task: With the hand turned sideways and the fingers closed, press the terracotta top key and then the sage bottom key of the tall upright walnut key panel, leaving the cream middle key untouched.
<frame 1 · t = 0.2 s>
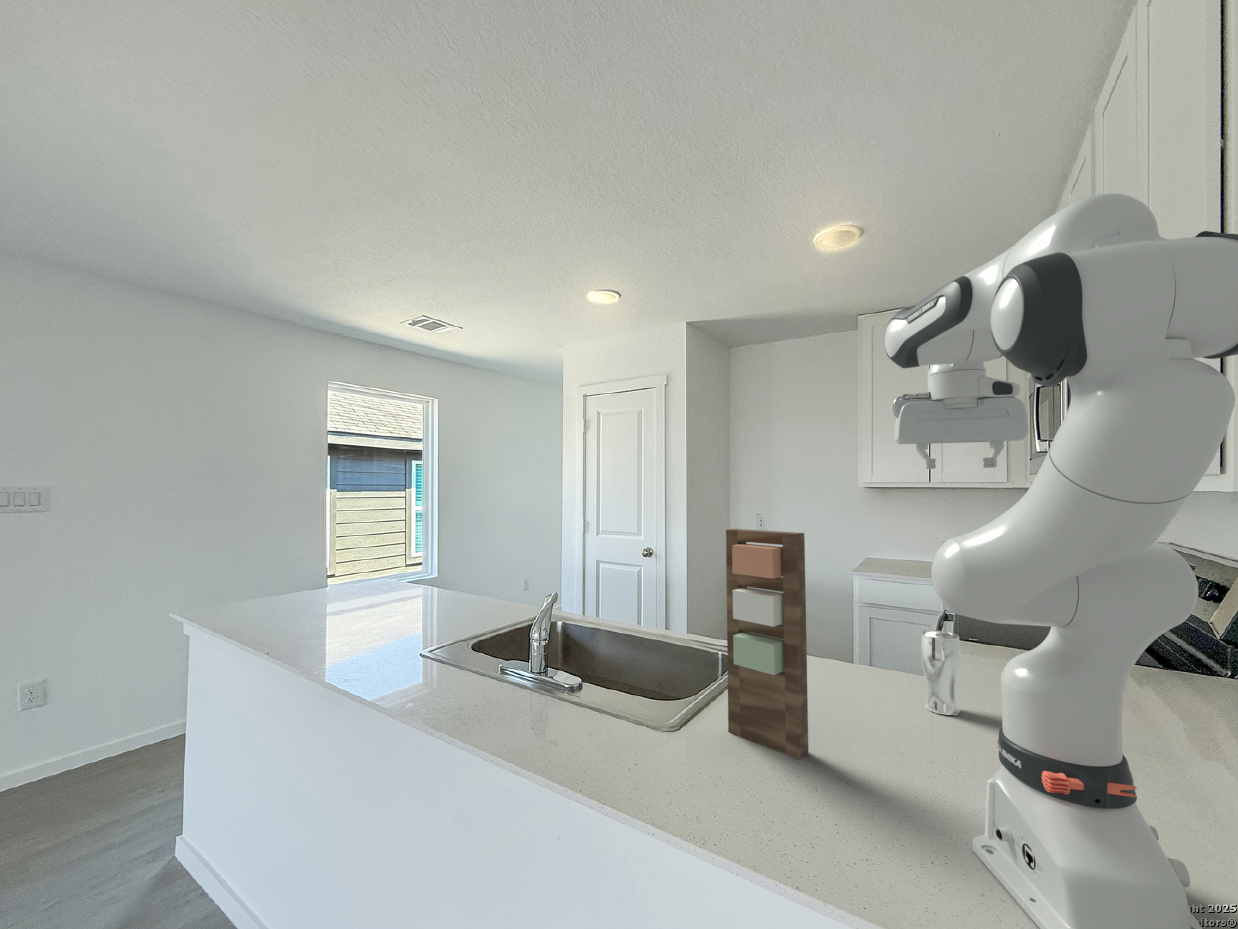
hand: (959, 468, 94), 48 cm above the worktop, tool pointing down, fingers open, 8 cm apart
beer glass: (942, 711, 107), on the worktop
cream key: (758, 606, 93), point 24 cm above the worktop, slide at 0.0 cm
sage key: (759, 652, 93), point 16 cm above the worktop, slide at 0.0 cm
terracotta key: (758, 560, 94), point 32 cm above the worktop, slide at 0.0 cm
key panel: (766, 742, 94), on the worktop
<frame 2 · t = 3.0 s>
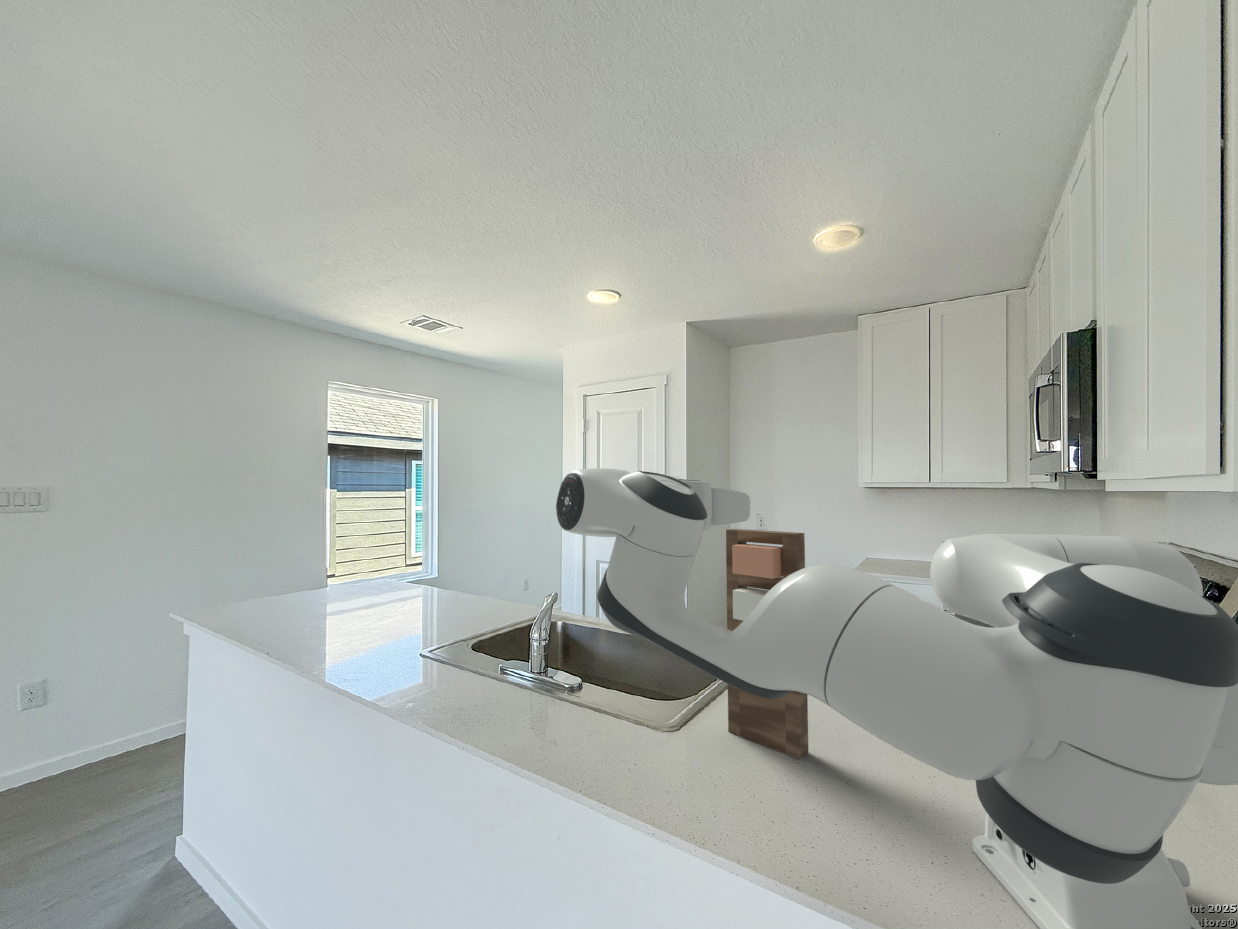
hand: (713, 507, 84), 42 cm above the worktop, tool horizontal, fingers open, 8 cm apart
nothing on the worktop moved.
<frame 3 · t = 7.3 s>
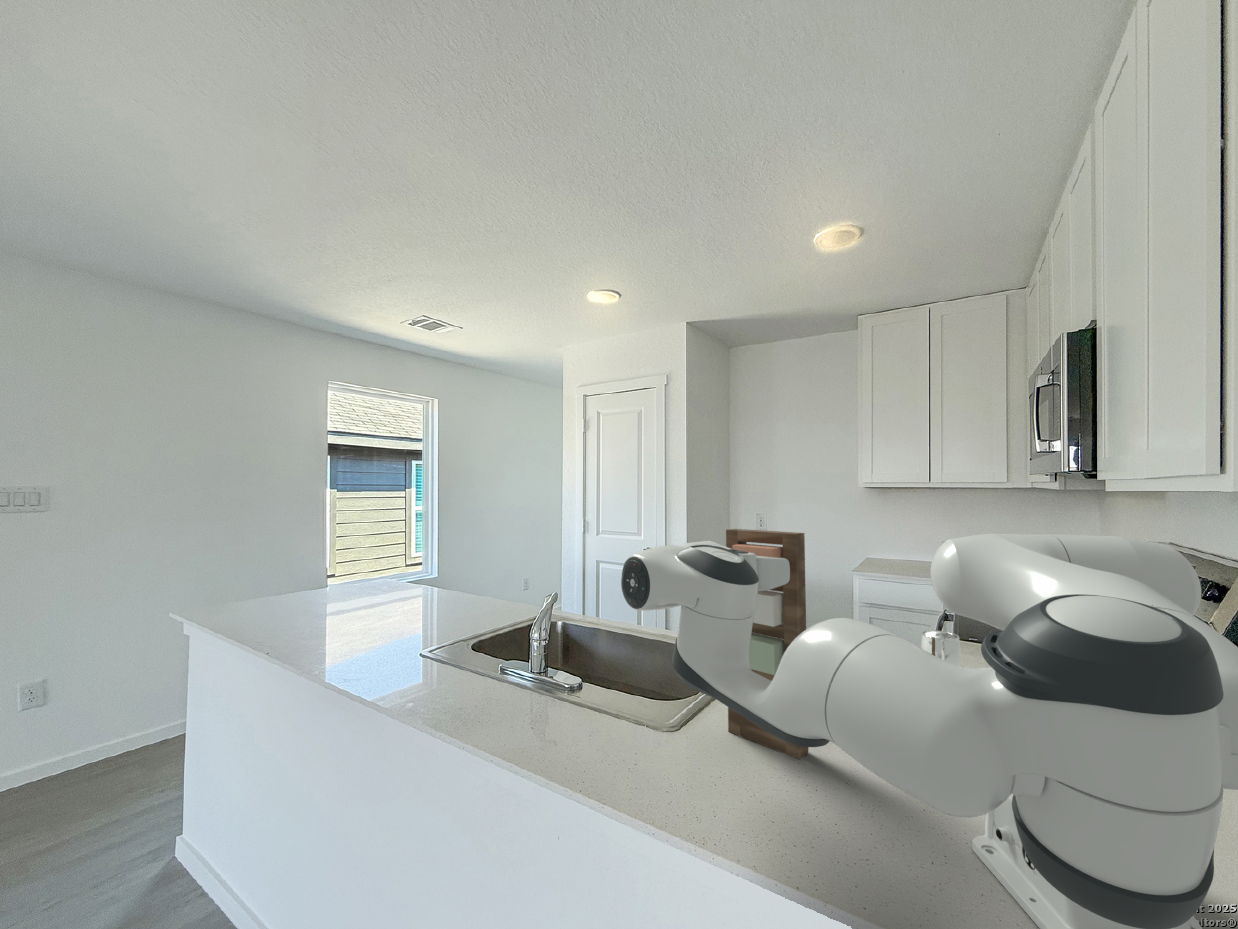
hand: (751, 561, 92), 32 cm above the worktop, tool horizontal, fingers closed, pressing on terracotta key
terracotta key: (758, 560, 94), point 32 cm above the worktop, slide at 0.0 cm, touching gripper
everything else where it was.
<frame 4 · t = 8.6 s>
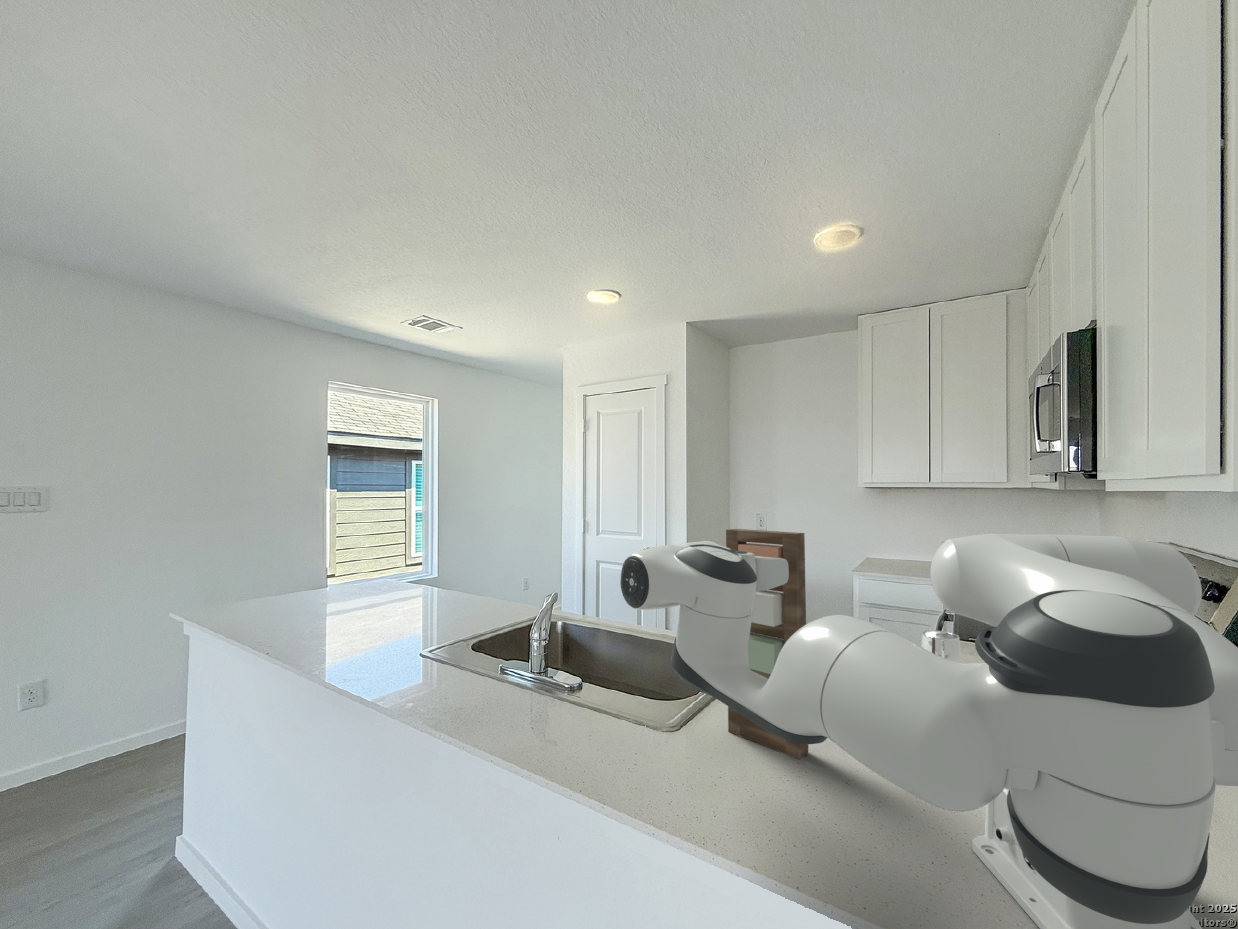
hand: (750, 561, 93), 32 cm above the worktop, tool horizontal, fingers closed
terracotta key: (763, 559, 95), point 32 cm above the worktop, slide at 1.9 cm
everything else where it was.
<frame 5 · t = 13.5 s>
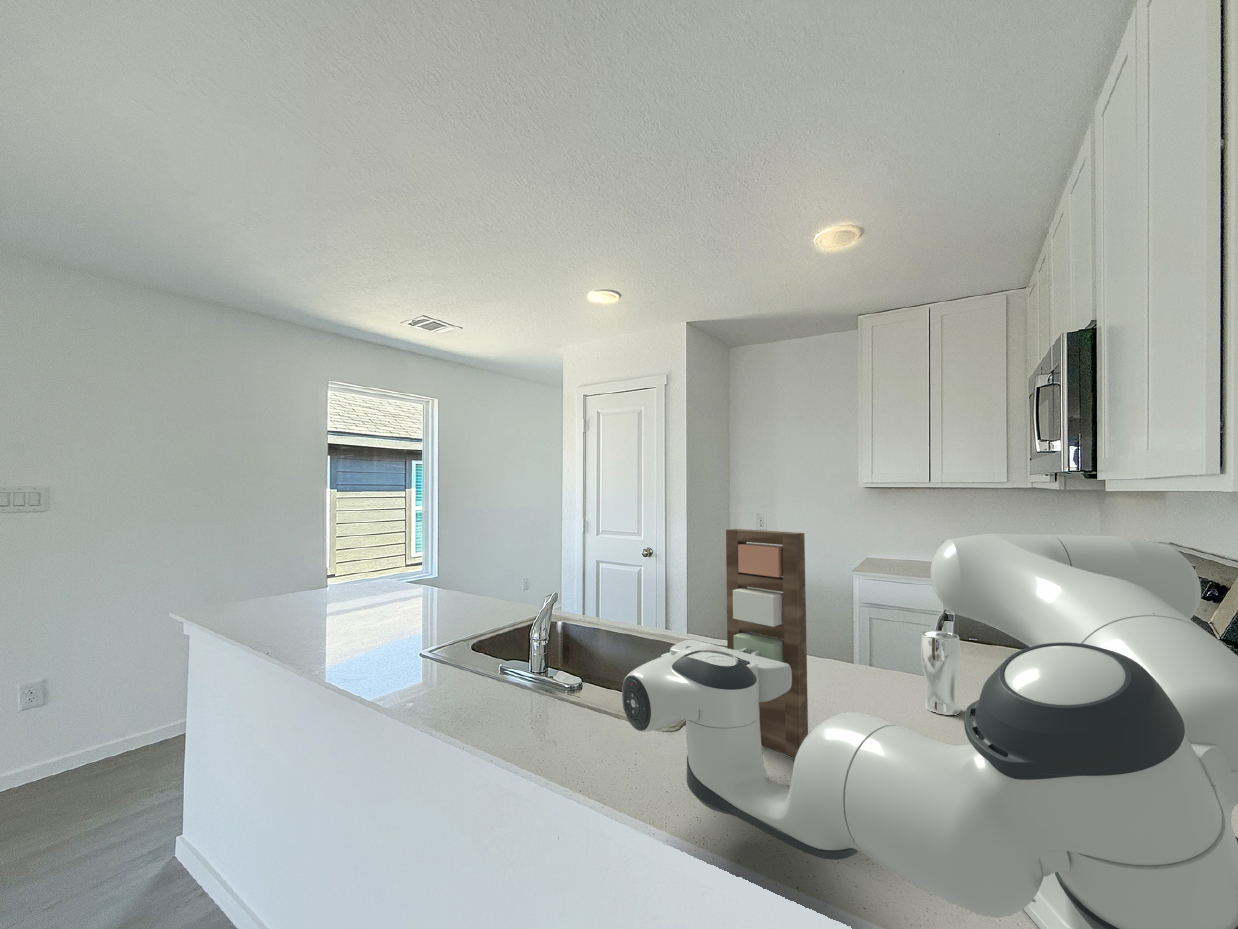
hand: (753, 654, 92), 16 cm above the worktop, tool horizontal, fingers closed, pressing on sage key
sage key: (759, 652, 93), point 16 cm above the worktop, slide at 0.1 cm, touching gripper
everything else where it was.
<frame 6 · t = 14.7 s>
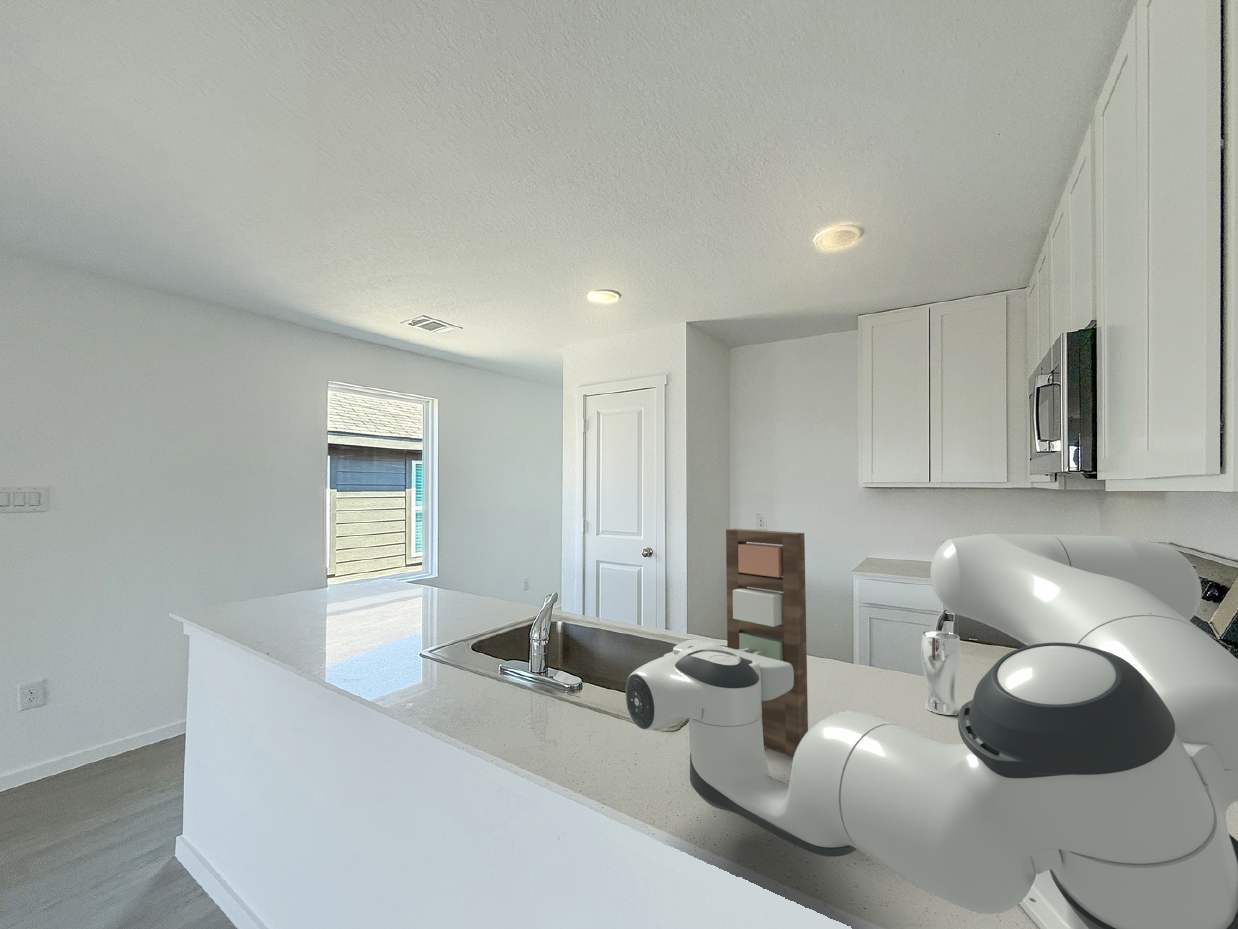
hand: (755, 654, 92), 16 cm above the worktop, tool horizontal, fingers closed
sage key: (765, 650, 94), point 16 cm above the worktop, slide at 1.9 cm
everything else where it was.
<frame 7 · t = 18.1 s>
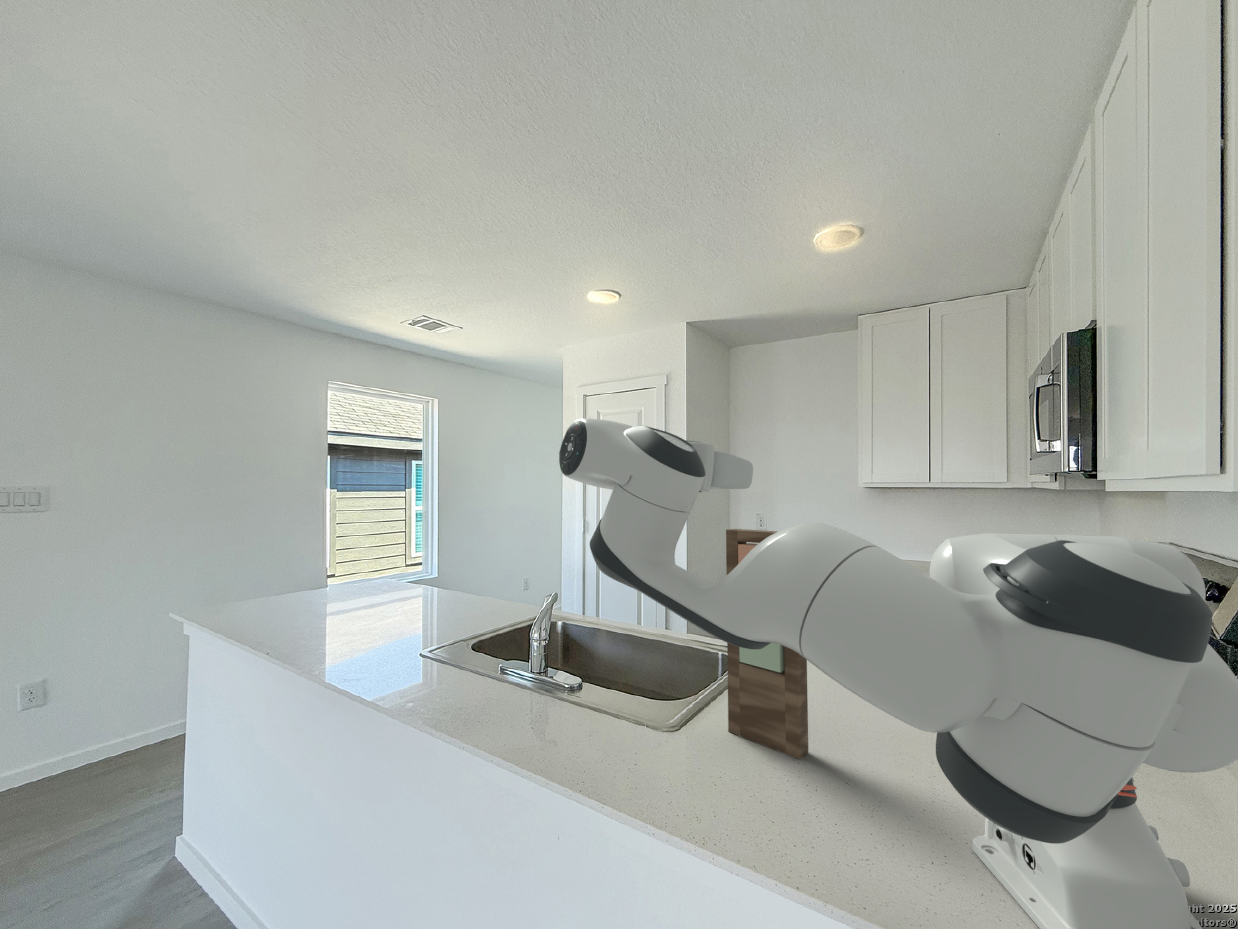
hand: (717, 477, 84), 46 cm above the worktop, tool horizontal, fingers closed
nothing on the worktop moved.
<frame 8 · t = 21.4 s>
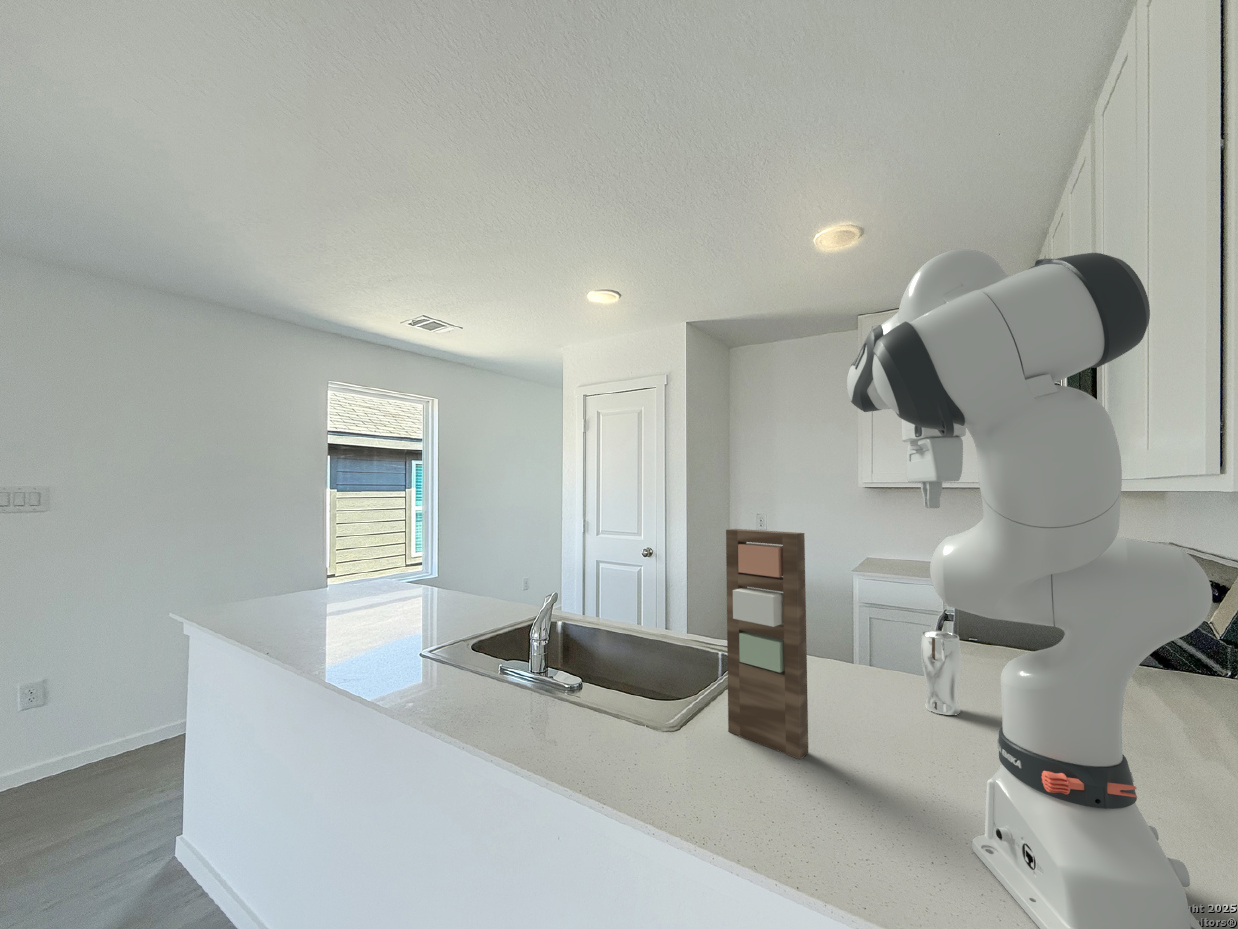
hand: (931, 508, 95), 41 cm above the worktop, tool pointing down, fingers closed
nothing on the worktop moved.
at the end: terracotta key slide at 1.9 cm; sage key slide at 1.9 cm; cream key slide at 0.0 cm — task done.
